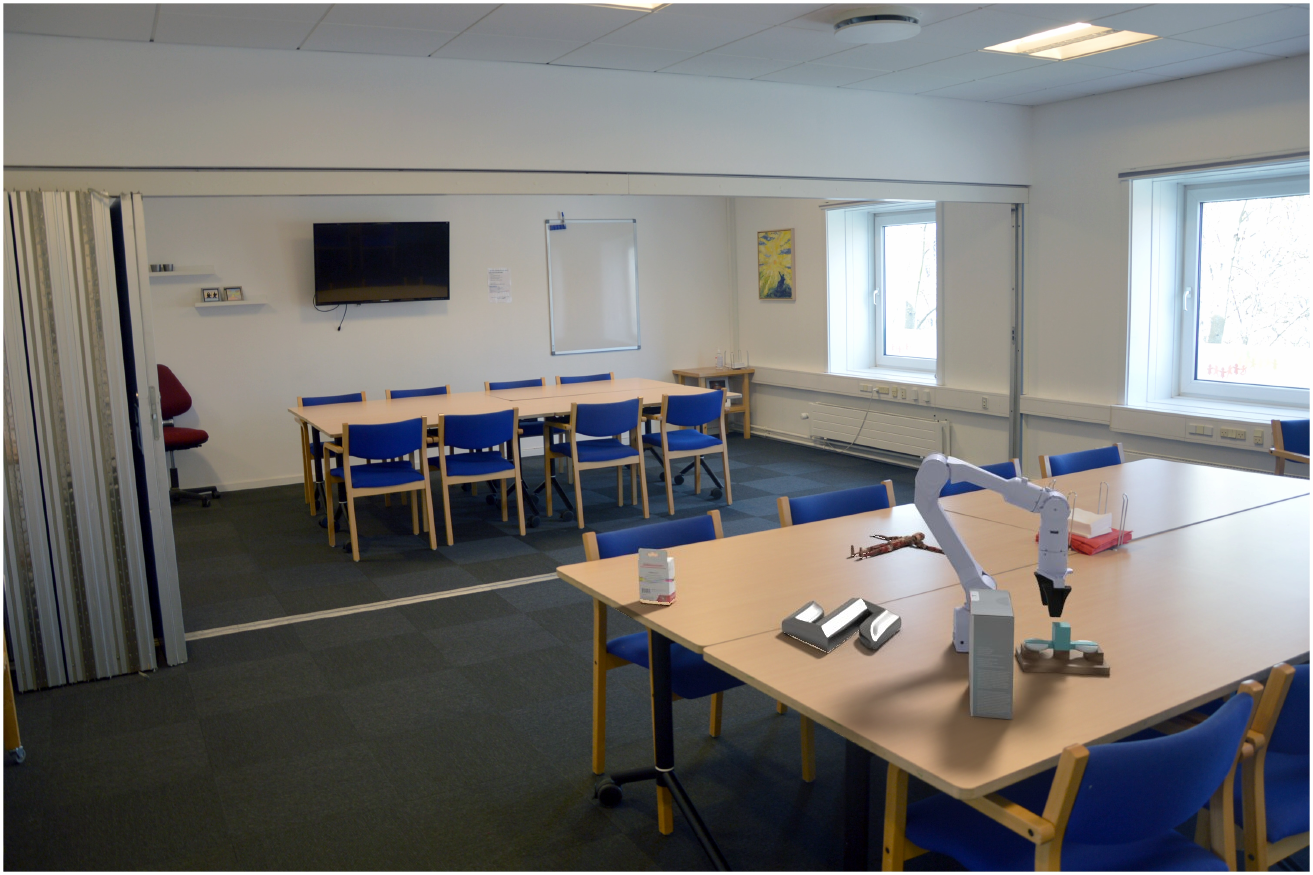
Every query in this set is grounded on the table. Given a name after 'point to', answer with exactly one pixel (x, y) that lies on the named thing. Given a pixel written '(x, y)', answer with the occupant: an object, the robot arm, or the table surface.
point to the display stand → (1062, 661)
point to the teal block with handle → (1061, 641)
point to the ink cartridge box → (656, 576)
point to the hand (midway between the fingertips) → (1051, 610)
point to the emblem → (842, 624)
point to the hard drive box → (991, 653)
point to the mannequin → (895, 545)
